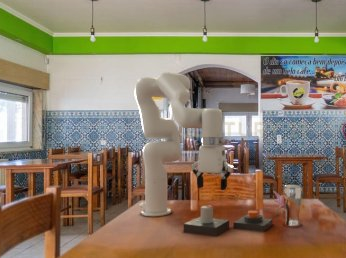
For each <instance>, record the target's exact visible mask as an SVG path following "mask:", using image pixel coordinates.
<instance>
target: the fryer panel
mask: <svg viewBox="0 0 346 258" xmlns="http://www.w3.org/2000/svg"><path fill="white" fill-rule="evenodd" d="M228 229H230V220H229V219H224V218H223V219H222V218H214V217H213V222H212V223H201V216H198V217H196V218H193V219H190V220H189V221H186V222H184V223H183V233H188V234H196V235H201V236H202V235H203V236H211V237H217V236H219V235H220V234H222V233H224V232H226V231H227V230H228Z"/></svg>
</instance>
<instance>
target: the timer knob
mask: <svg viewBox="0 0 346 258" xmlns="http://www.w3.org/2000/svg"><path fill="white" fill-rule="evenodd" d="M200 217H201V223H212V222H213V218H214V206H212V205H202V206H200Z"/></svg>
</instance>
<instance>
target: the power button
mask: <svg viewBox="0 0 346 258" xmlns="http://www.w3.org/2000/svg"><path fill="white" fill-rule="evenodd" d="M259 213H260V212H259V211H258V210H248V211H247V214H248V217H251V218H256V217H259V215H260V214H259Z"/></svg>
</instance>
